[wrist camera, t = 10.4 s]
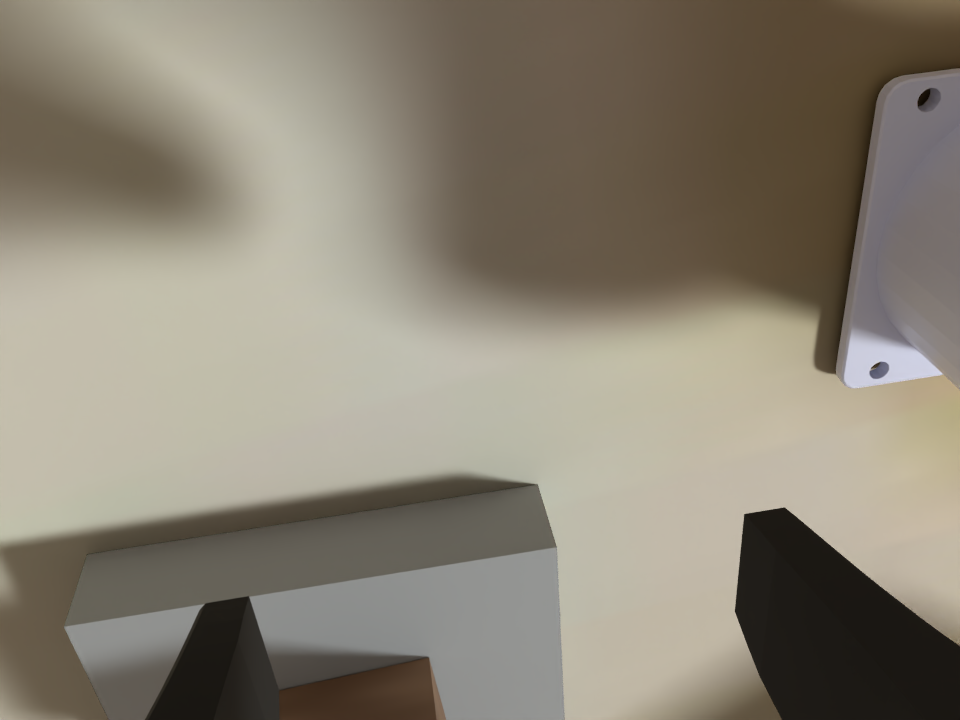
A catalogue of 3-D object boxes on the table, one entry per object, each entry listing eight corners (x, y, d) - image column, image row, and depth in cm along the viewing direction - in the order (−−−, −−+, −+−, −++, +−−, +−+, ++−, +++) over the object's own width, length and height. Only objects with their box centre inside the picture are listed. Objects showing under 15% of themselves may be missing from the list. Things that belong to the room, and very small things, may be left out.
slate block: (533, 471, 25) (556, 547, 22) (549, 737, 31) (569, 819, 29) (91, 539, 24) (63, 626, 21) (202, 799, 30) (190, 889, 28)
